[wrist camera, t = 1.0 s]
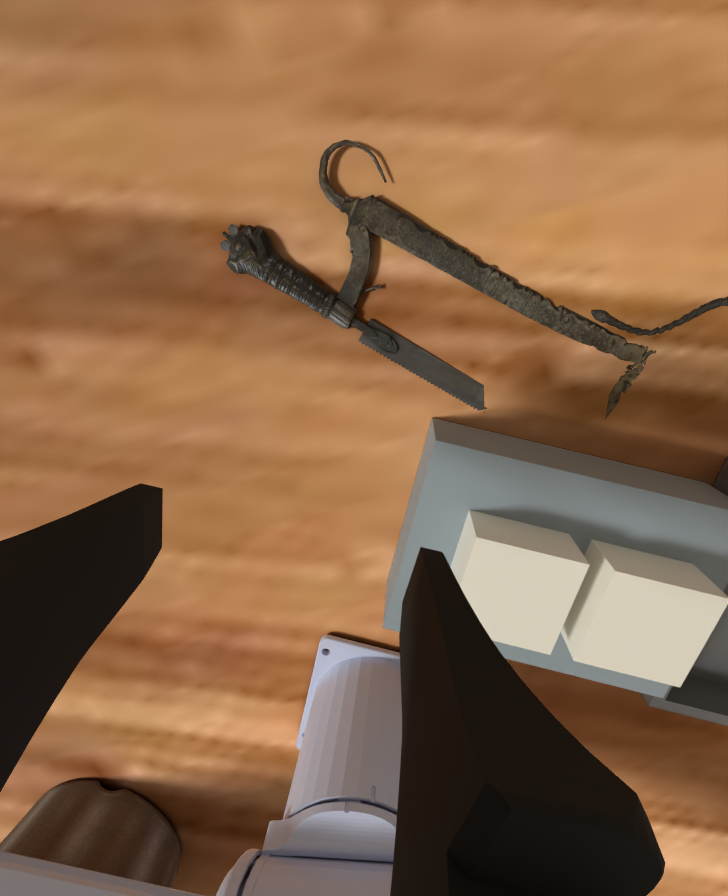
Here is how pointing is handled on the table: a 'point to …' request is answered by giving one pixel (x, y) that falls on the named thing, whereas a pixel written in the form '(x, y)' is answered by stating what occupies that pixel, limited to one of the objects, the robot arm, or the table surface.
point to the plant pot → (98, 833)
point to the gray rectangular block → (555, 517)
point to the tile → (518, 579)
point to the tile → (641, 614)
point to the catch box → (704, 667)
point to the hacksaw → (380, 218)
